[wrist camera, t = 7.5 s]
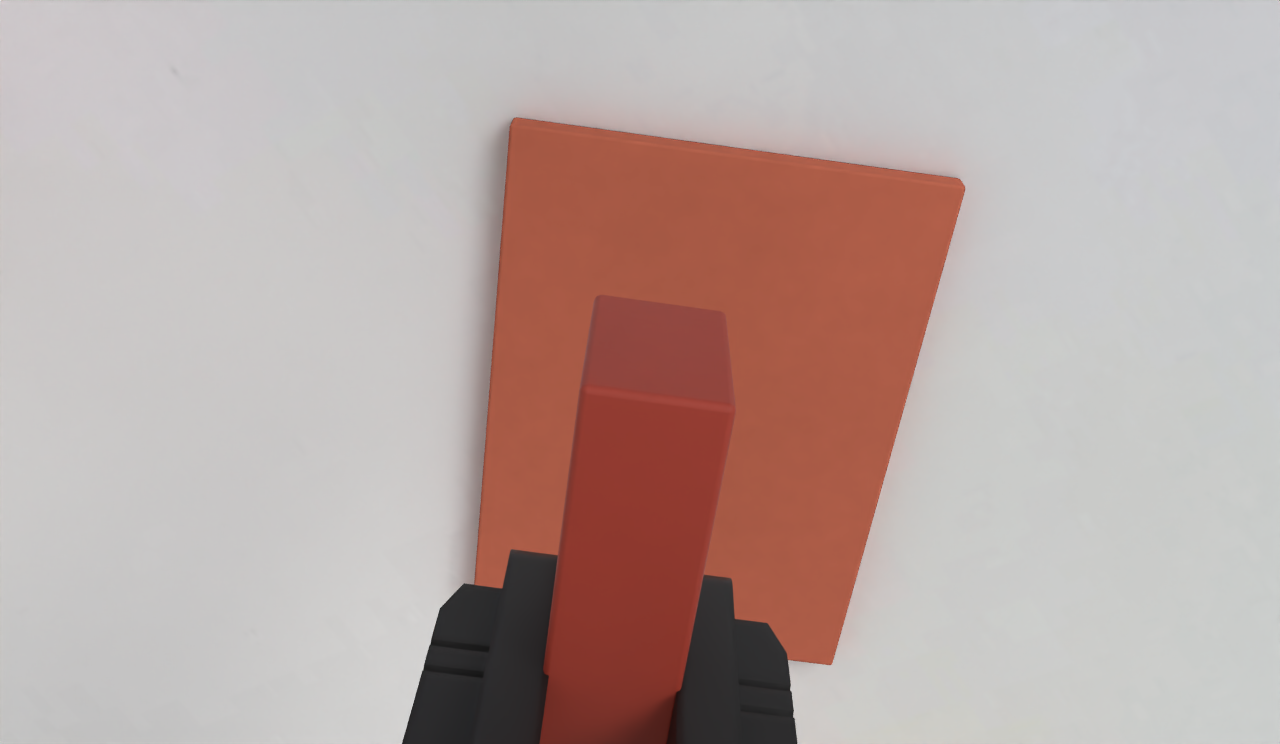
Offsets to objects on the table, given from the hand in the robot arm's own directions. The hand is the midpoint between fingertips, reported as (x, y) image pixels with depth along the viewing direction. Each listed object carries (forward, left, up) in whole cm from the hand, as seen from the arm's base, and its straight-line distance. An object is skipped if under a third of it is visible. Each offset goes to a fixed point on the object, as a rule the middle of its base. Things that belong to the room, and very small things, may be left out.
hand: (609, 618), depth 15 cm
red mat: (+5, +2, -13) cm, 14 cm away
